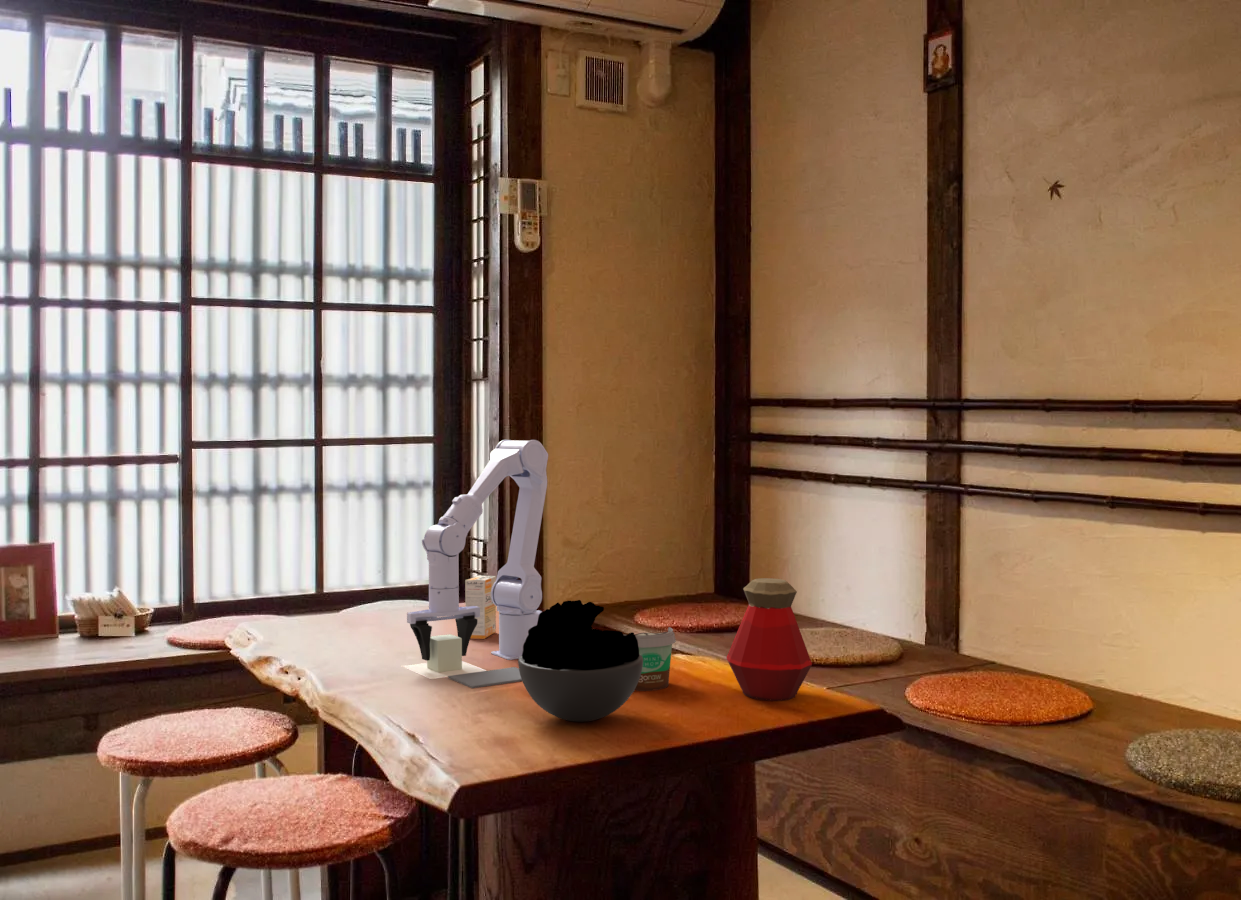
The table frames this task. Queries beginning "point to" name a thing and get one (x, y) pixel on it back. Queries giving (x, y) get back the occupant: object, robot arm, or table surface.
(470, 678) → the slate mat
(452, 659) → the sage block
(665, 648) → the food container
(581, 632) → the bowl of black rocks
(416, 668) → the card
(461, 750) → the table surface
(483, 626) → the supplement box
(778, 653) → the bottle
